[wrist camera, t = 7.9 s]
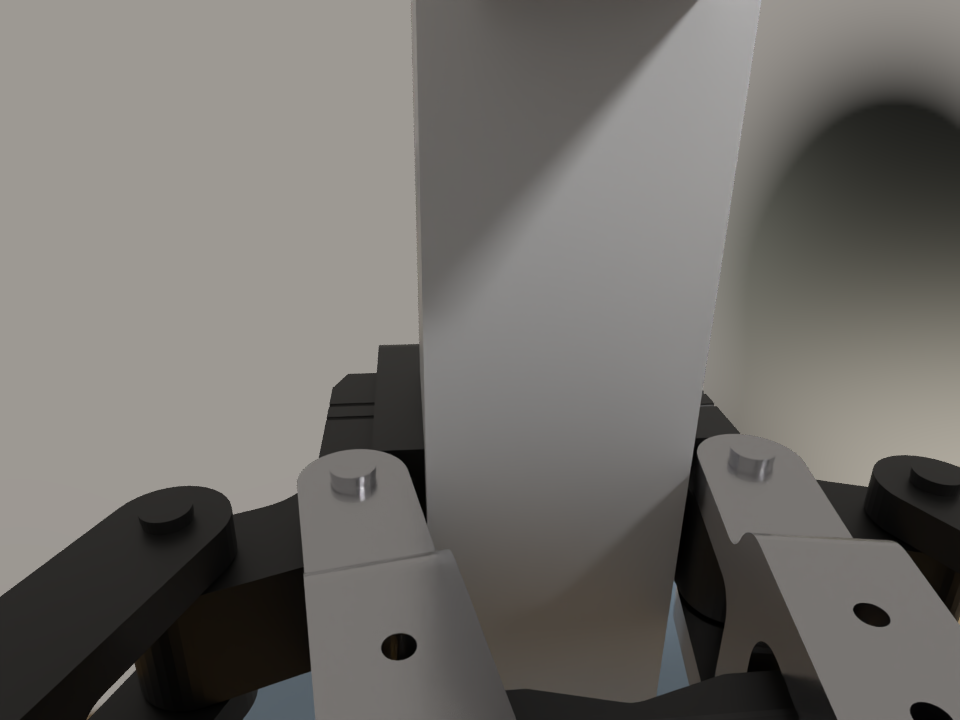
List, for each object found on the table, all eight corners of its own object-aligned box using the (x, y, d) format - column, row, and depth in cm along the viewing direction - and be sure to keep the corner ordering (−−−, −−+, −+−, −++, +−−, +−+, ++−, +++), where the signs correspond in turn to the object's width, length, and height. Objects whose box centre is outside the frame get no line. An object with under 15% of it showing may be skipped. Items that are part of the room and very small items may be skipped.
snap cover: (692, 633, 19) (819, -109, 12) (1025, 1305, 9) (2758, -821, 2) (262, 663, 18) (145, -133, 11) (82, 1464, 8) (-2192, -1743, 1)
